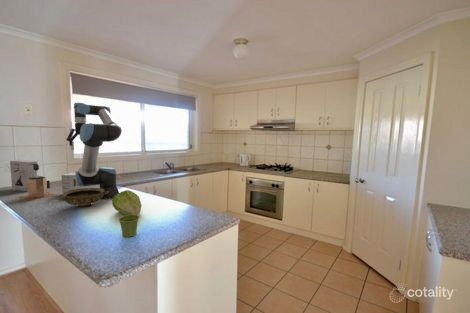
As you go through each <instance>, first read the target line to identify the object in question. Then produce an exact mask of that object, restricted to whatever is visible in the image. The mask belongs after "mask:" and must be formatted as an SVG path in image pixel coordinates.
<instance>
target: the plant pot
mask: <svg viewBox="0 0 470 313" xmlns="http://www.w3.org/2000/svg"><path fill="white" fill-rule="evenodd" d="M139 220H140V216H139V214H138V215H122V216H121V217H118V220H117V221H118V222H119V224H120V228H121V234H122V237H123V238H131V237H135V236H136V235H137V230H138V229H137V228H138V224H139ZM134 235H135V236H134Z"/></svg>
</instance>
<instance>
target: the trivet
mask: <svg viewBox="0 0 470 313" xmlns="http://www.w3.org/2000/svg"><path fill="white" fill-rule="evenodd" d="M57 196H58V194H54V193H50V192H48V191H47V196H45V197H40V198H28V195H22V196H17V198H18V199H20V200H23V201H25V202H32V201H36V200H42V199H47V198H53V197H57Z"/></svg>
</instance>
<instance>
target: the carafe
mask: <svg viewBox="0 0 470 313" xmlns="http://www.w3.org/2000/svg"><path fill="white" fill-rule="evenodd" d="M50 188H51V183H50V180H47V177H46V176H42V175H38V177H29V178H28V179H27V189H28V191H27V196H28V198H40V197H45V196H47V192H48V189H50Z"/></svg>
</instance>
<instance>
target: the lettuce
mask: <svg viewBox="0 0 470 313" xmlns="http://www.w3.org/2000/svg"><path fill="white" fill-rule="evenodd" d="M111 203H112V207H113V208H114V210H115V211H117V212H118V213H120V214H121V215H124V216H126V215H138V216H139V215H140V214H141V211H142V210H141V209H142V202H141V200H140V197H139V195H138V194H137V193H135V192H134V191H132V190H129V189H126V190H123V191H122V190H121V191H119V194H117V195H115V196H114V198H112V200H111Z"/></svg>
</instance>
